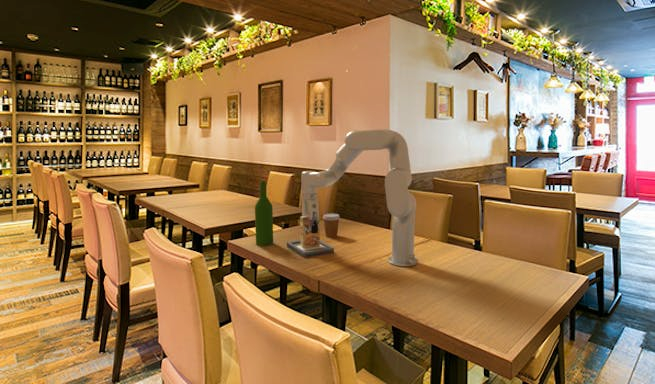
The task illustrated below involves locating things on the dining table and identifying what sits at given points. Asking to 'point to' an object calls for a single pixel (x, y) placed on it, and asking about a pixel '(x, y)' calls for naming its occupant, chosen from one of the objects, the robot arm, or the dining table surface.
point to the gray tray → (310, 249)
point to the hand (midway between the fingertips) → (310, 231)
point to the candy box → (308, 233)
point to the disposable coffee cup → (331, 224)
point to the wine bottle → (263, 219)
